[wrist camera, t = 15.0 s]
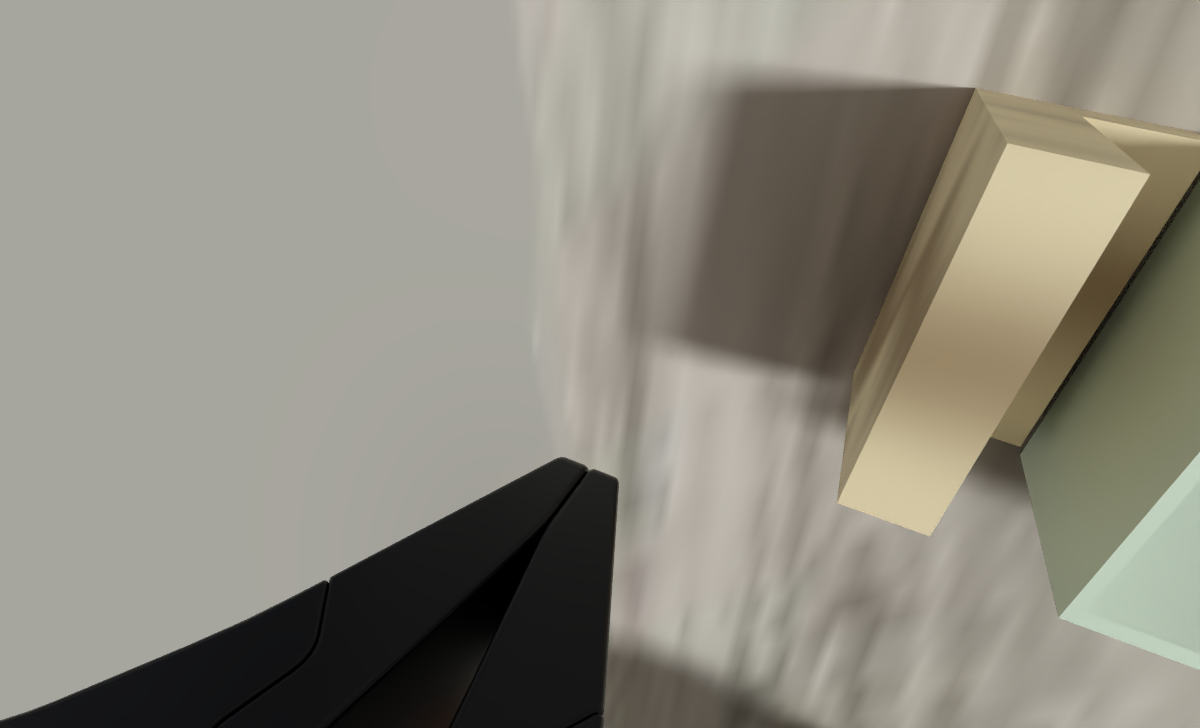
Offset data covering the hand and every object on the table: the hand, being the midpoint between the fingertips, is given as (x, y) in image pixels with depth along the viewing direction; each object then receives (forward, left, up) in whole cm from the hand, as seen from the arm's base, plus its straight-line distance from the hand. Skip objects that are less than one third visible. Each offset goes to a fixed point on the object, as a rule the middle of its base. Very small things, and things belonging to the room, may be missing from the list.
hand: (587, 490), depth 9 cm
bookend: (0, -6, -12) cm, 14 cm away
